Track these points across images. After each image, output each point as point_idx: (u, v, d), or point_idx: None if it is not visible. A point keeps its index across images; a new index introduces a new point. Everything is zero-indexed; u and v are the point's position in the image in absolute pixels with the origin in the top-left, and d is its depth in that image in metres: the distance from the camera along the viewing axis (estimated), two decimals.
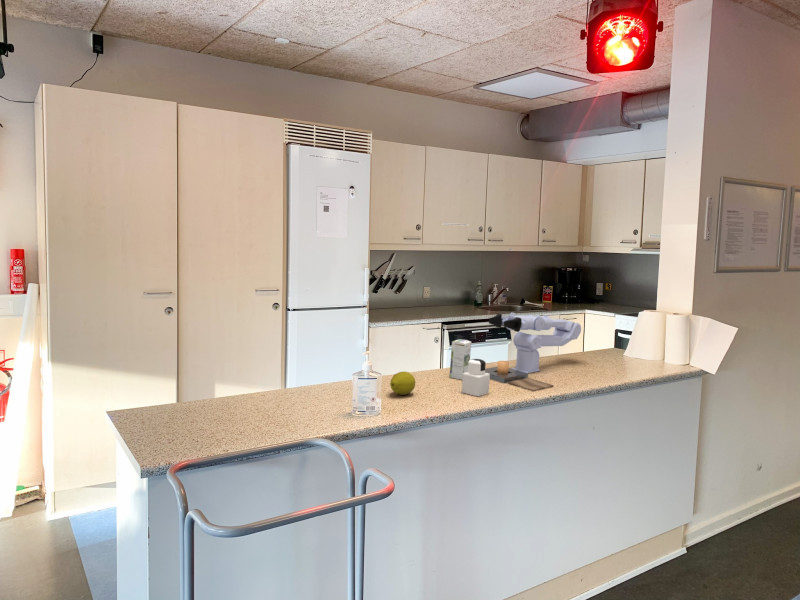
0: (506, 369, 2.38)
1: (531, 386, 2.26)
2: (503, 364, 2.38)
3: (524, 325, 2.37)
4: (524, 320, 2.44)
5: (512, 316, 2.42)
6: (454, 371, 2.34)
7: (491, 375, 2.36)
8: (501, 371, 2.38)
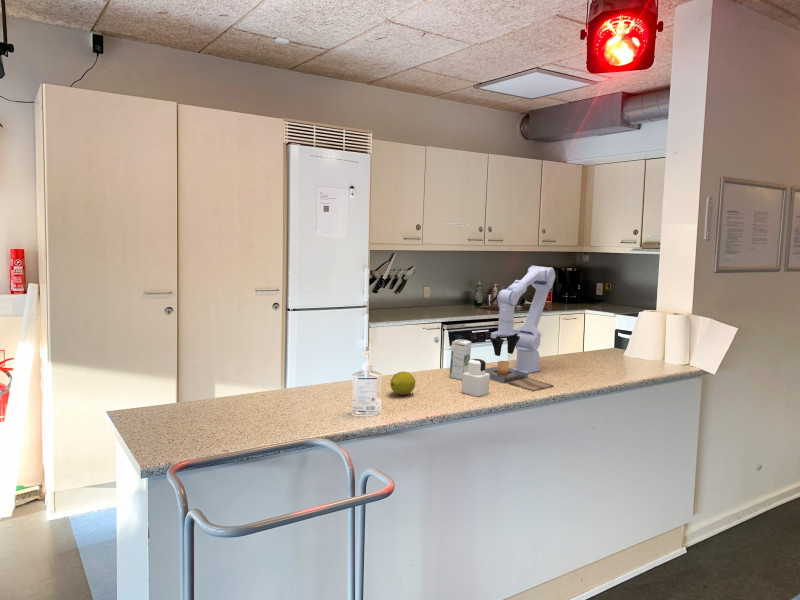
0: (506, 369, 2.38)
1: (531, 386, 2.26)
2: (503, 364, 2.38)
3: None
4: None
5: None
6: (454, 371, 2.34)
7: (491, 375, 2.36)
8: (501, 371, 2.38)
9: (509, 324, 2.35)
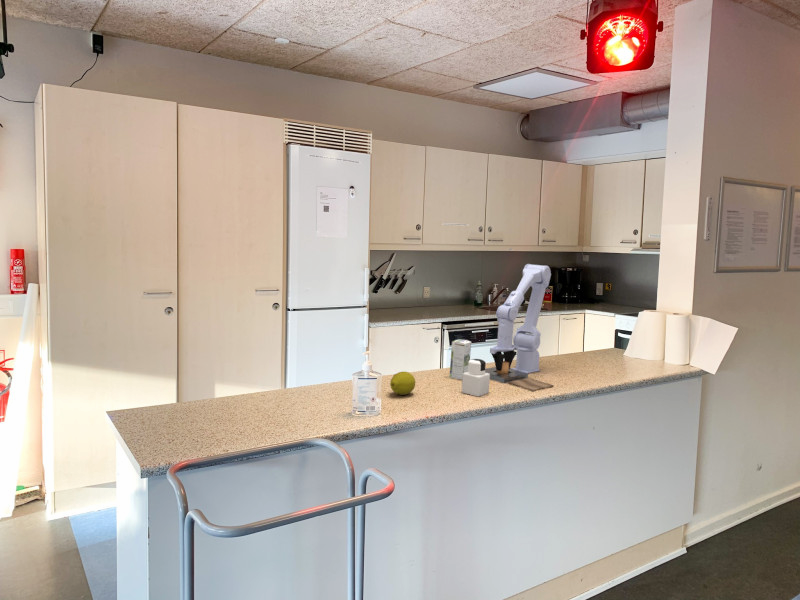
0: (506, 369, 2.38)
1: (531, 386, 2.26)
2: (503, 364, 2.38)
3: None
4: None
5: None
6: (454, 371, 2.34)
7: (491, 375, 2.36)
8: (501, 371, 2.38)
9: (508, 340, 2.36)
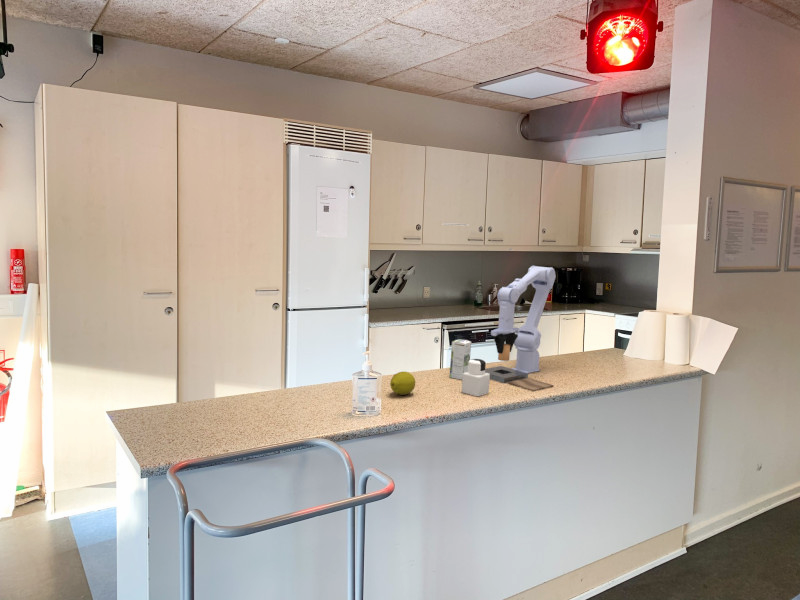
0: (507, 351, 2.37)
1: (531, 386, 2.26)
2: (504, 346, 2.37)
3: None
4: None
5: None
6: (454, 371, 2.34)
7: (491, 375, 2.36)
8: (502, 354, 2.37)
9: (509, 322, 2.35)
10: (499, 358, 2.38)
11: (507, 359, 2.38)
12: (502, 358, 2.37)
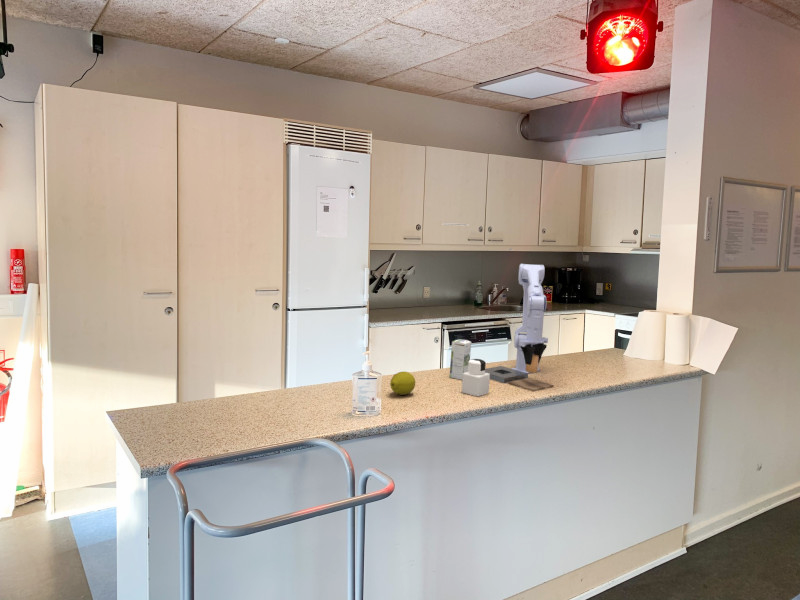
0: (536, 363, 2.27)
1: (531, 386, 2.26)
2: (533, 357, 2.26)
3: None
4: None
5: None
6: (454, 371, 2.34)
7: (491, 375, 2.36)
8: (530, 365, 2.27)
9: (538, 332, 2.24)
10: (527, 369, 2.28)
11: (535, 371, 2.27)
12: (530, 370, 2.27)
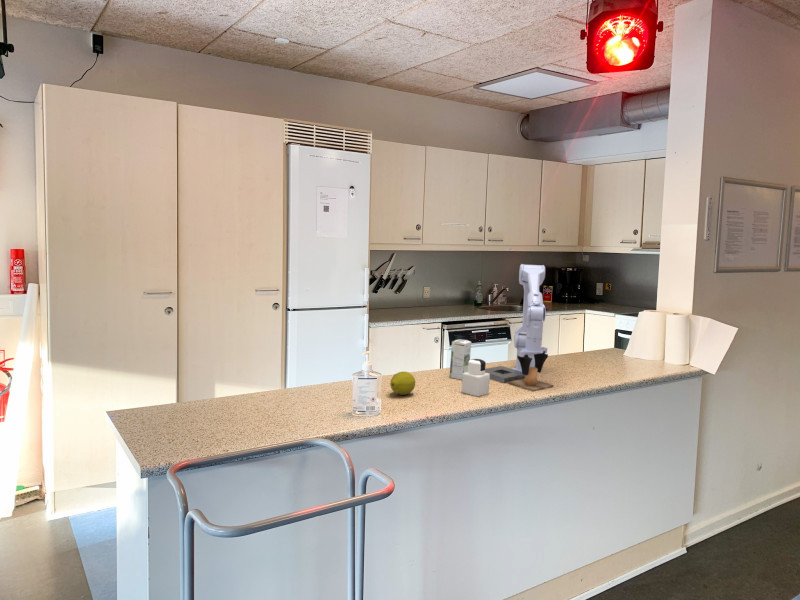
0: (535, 375, 2.28)
1: (531, 386, 2.26)
2: (532, 370, 2.27)
3: None
4: None
5: None
6: (454, 371, 2.34)
7: (491, 375, 2.36)
8: (529, 378, 2.28)
9: (537, 342, 2.25)
10: (526, 382, 2.29)
11: (534, 383, 2.28)
12: (529, 382, 2.28)
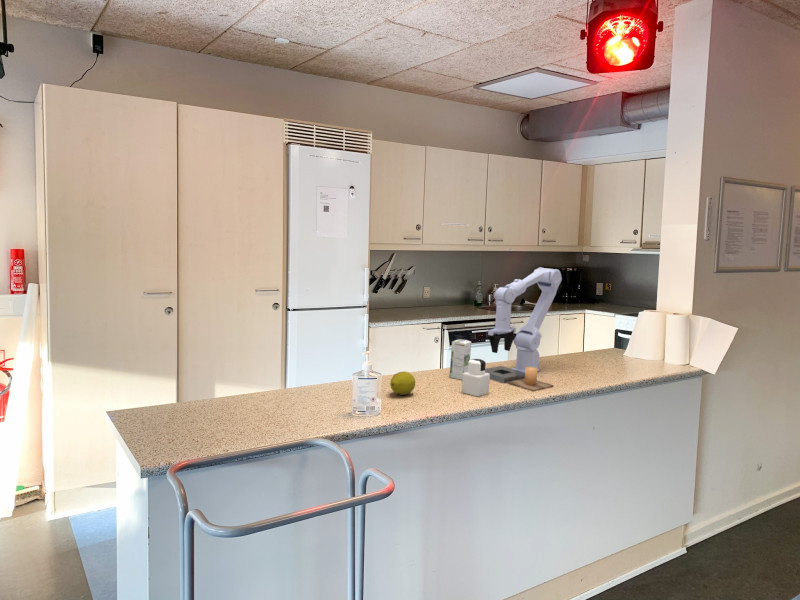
0: (535, 375, 2.28)
1: (531, 386, 2.26)
2: (532, 370, 2.27)
3: None
4: None
5: (507, 331, 2.40)
6: (454, 371, 2.34)
7: (491, 375, 2.36)
8: (529, 378, 2.28)
9: (506, 321, 2.38)
10: (526, 382, 2.29)
11: (534, 383, 2.28)
12: (529, 382, 2.28)
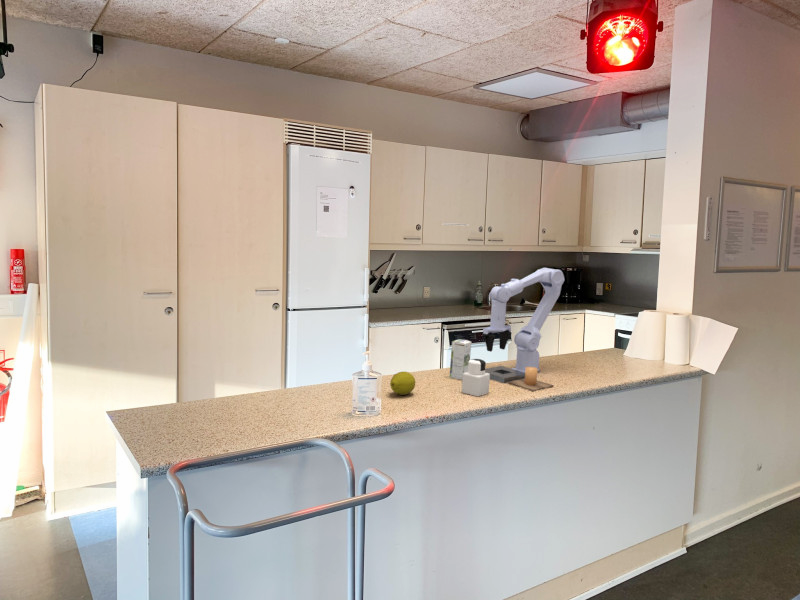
0: (535, 375, 2.28)
1: (531, 386, 2.26)
2: (532, 370, 2.27)
3: None
4: None
5: (502, 330, 2.42)
6: (454, 371, 2.34)
7: (491, 375, 2.36)
8: (529, 378, 2.28)
9: (501, 320, 2.41)
10: (526, 382, 2.29)
11: (534, 383, 2.28)
12: (529, 382, 2.28)
